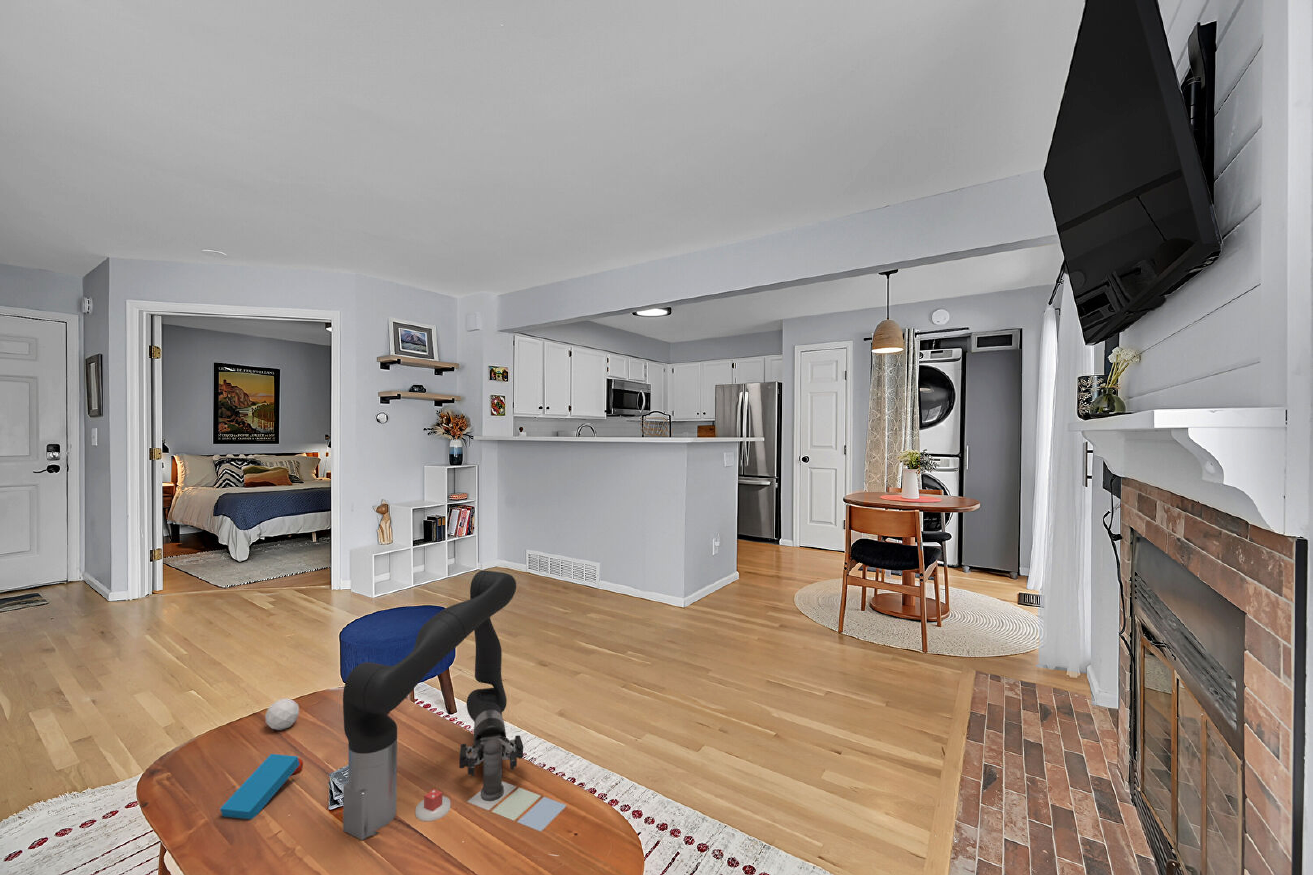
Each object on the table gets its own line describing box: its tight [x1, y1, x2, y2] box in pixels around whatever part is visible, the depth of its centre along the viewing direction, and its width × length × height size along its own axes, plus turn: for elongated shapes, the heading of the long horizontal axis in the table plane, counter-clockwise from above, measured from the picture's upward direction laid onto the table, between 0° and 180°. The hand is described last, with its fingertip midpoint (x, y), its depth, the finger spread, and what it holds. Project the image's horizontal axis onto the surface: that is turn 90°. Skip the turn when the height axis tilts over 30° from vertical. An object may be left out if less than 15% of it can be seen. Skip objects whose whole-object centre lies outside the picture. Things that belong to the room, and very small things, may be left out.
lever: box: [219, 753, 304, 820], centre depth 130 cm, size 7×7×18 cm
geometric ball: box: [264, 698, 300, 731], centre depth 157 cm, size 8×8×8 cm
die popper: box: [415, 789, 451, 822], centre depth 123 cm, size 7×7×5 cm
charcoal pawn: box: [480, 738, 504, 801], centre depth 129 cm, size 5×5×12 cm
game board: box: [466, 781, 567, 832], centre depth 126 cm, size 11×21×1 cm, turn 64°
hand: (493, 768), depth 127 cm, fingers open, 8 cm apart
